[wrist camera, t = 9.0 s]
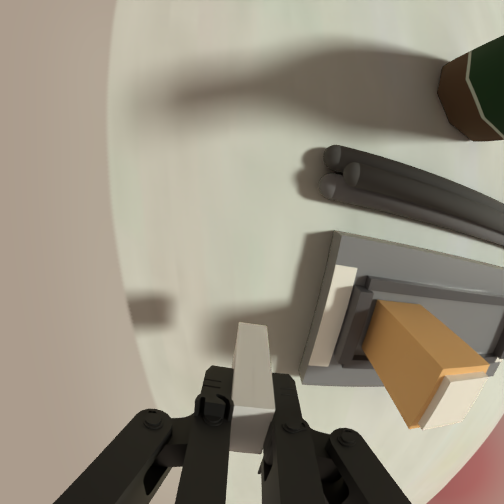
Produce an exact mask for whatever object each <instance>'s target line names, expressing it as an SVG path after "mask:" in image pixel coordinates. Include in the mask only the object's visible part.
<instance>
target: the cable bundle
mask: <svg viewBox="0 0 504 504" xmlns="http://www.w3.org/2000/svg"><path fill="white" fill-rule="evenodd" d="M323 159H324V162H325V164H326V166H327V167H328V168H329V169H331V170H334V171H338V172H342V173H343V175H338V174H334V173H329V174H326V175H324V176H323V177H322V178H321V179H320V182H319V191H320V193H321V194H322V196H324V197H325V198H327V199H330V200H334V201H339V202H344V203H348V204H353V205H357V206H362V207H366V208H371V209H375V210H379V211H383V212H387V213H391V214H396V215H399V216H403V217H407V218H411V219H415V220H419V221H423V222H426V223H430V224H434V225H437V226H441V227H444V228H448V229H451V230H455V231H458V232H461V233H465V234H468V235H471V236H474V237H478V238H481V239H484V240H487V241H490V242H493V243H496V244H499V245H502V246H504V204H503V203H501V202H499V201H497V200H495V199H493V198H491V197H488V196H486V195H484V194H482V193H479V192H477V191H475V190H473V189H470V188H468V187H465V186H463V185H461V184H458V183H456V182H453V181H451V180H448V179H445V178H443V177H440V176H438V175H435V174H432V173H429V172H427V171H424V170H421V169H418V168H415V167H412V166H409V165H406V164H403V163H400V162H397V161H394V160H391V159H387V158H384V157H381V156H377V155H374V154H370V153H367V152H363V151H359V150H356V149H352V148H348V147H344V146H340V145H332V146H330V147H328V148H327V149H326V150H325V152H324V156H323Z"/></svg>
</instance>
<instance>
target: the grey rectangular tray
mask: <svg viewBox="0 0 504 504" xmlns="http://www.w3.org/2000/svg"><path fill="white" fill-rule="evenodd" d="M377 300H386V301H394V302H403V303H412V304H420V305H421V306H423V307H424V308H425V309H426V310H428V311H429V312H430V313H431V314H432V315H434V316H435V317H436V318H437V319H438V320H440V321H441V322H442V323H443V324H444V325H446V326H447V327H448V328H449V329H450V330H452V331H453V332H454V333H455V334H456V335H457V336H459V337H460V338H461V339H462V340H463V341H464V342H465V343H467V344H468V345H469V346H470V347H471V348H472V349H473V350H475V351H476V352H477V353H478V354H479V355H480V356H481V357H482V358H483V359H485V360H486V361H487V362H488V363H489V364H490V366H489V368H488V370H487V372H486V375H487V376H488V377H490V376H493V375H494V373H495V372H496V370H497V368H498V366H499V364H500V362H501V361H502V359H504V267H500V266H496V265H492V264H488V263H484V262H480V261H476V260H471V259H467V258H463V257H459V256H455V255H450V254H446V253H442V252H437V251H433V250H428V249H424V248H419V247H415V246H410V245H405V244H400V243H396V242H391V241H386V240H381V239H376V238H371V237H366V236H361V235H356V234H351V233H346V232H341V231H335V230H334V233H333V238H332V242H331V247H330V252H329V256H328V261H327V265H326V270H325V274H324V278H323V282H322V287H321V291H320V295H319V299H318V303H317V307H316V311H315V314H314V318H313V322H312V326H311V329H310V333H309V337H308V340H307V344H306V347H305V351H304V354H303V358H302V361H301V364H300V368H299V374H300V378H301V382H302V384H303V385H320V386H350V387H378V386H384V384H383V383H382V381H381V379H380V378H379V376H378V374H377V373H376V371H375V369H374V368H373V366H372V364H371V363H370V361H369V359H368V358H367V356H366V354H365V353H364V351H363V349H362V348H361V347H362V344H363V342H364V339H365V336H366V333H367V330H368V327H369V324H370V321H371V318H372V315H373V312H374V309H375V305H376V302H377Z"/></svg>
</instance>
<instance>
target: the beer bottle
mask: <svg viewBox="0 0 504 504" xmlns="http://www.w3.org/2000/svg"><path fill="white" fill-rule="evenodd" d="M437 94H438V96H439V98H440V100H441V103H442V105H443V107H444V110H445V112H446V115H447V117H448V120H449V123H450V124H452V125H453V126H454V127H456V128H457V129H458V130H459V131H461V132H462V133H463V134H464V135H466V136H467V137H468V138H469V139H470V140H472V141H495V140H504V35H503V36H501V37H499V38H497V39H495V40H492V41H490V42H488V43H486V44H484V45H482V46H480V47H478V48H476V49H474V50H472V51H470V52H468V53H466V54H464V55H462V56H460V57H458V58H456V59H454V60H452V61H451V62H449V63H448V64H446V65H445V66H443V68H442V72H441V77H440V82H439V87H438V91H437Z"/></svg>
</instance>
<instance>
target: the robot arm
mask: <svg viewBox="0 0 504 504" xmlns="http://www.w3.org/2000/svg"><path fill="white" fill-rule="evenodd" d="M297 395H298V394H297V390H296V385H295V381H294V380H293V379H292V377H291V376H290V375H289V374H279V373H272V371H271V361H270V351H269V341H268V331H267V326H265V325H257V324H250V323H243V322H239V325H238V332H237V338H236V344H235V350H234V356H233V362H232V368H226V367H219V366H213V365H212V366H211V367H210V368H209V369H208V370H207V371H206V373H205V377H204V382H203V386H202V390H201V394H199V395H198V396H197V398H196V399H195V410H194V413H193V414H192V415H190V416H187V417H184V418H170V417H169V415H168V414H166V413H165V412H163V411H161V410H157V409H146V410H142V411H140V412H139V413H138V414H136V416H135V417H134V418H133V419H132V420H131V421H130V422H129V423H128V424H127V426H125V428H124V429H123V430H122V431H121V432H120V433H119V434H118V435H117V436H116V437H115V439H114V440H113V441H112V442H111V443H110V444H109V445H108V446H107V447H106V448H105V449H104V450H103V451H102V453H101V454H100V455H99V456H98V457H97V458H96V459H95V460H94V461H93V462H92V463H91V464H90V465H89V466H88V467H87V469H86V470H85V471H84V472H83V473H82V474H81V475H80V476H79V477H78V478H77V479H76V480H75V481H74V482H73V483H72V485H70V486H69V488H68V489H67V490H66V491H65V492H64V493H63V494H62V495H61V496H60V497H59V498H58V499H57V500H56V501H55V502H54V503H53V504H149V502H150V501H151V499H152V498H153V496H154V495H155V493H156V492H157V490H158V489H159V487H160V486H161V484H162V482H163V481H164V479H165V478H166V476H167V475H168V473H169V472H170V470H171V468H172V467H180V466H183V468H182V472H181V477H180V482H179V486H178V491H177V497H176V501H175V504H225V501H226V487H227V473H228V460H229V451H234V452H243V453H254V454H261V453H262V450H263V453H264V456H263V459H262V462H261V465H260V468H259V470H258V474H261V479H262V504H411V502H410V501H409V500H408V498H407V497H406V496H405V494H404V493H403V492H402V490H401V489H400V488H399V486H398V485H397V484H396V482H395V481H394V480H393V478H392V477H391V476H390V474H389V473H388V472H387V470H386V469H385V468H384V466H383V465H382V463H381V462H380V461H379V459H378V458H377V457H376V455H375V454H374V453H373V451H372V450H371V449H370V447H369V446H368V444H367V443H366V442H365V440H364V439H363V438H362V436H361V435H360V434H359V433H358V432H356V431H354V430H352V429H348V428H339V429H336V430H334V431H333V432H332V433H331V435H330V434H326V433H322V432H318V431H315V430H313V429H311V428H310V427H309V425H308V423H307V422H306V421H305V420H304V419H303V418H302V414H301V409H300V404H299V399H298V396H297Z"/></svg>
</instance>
